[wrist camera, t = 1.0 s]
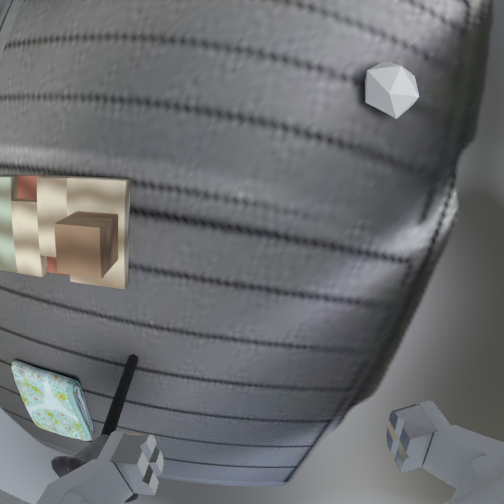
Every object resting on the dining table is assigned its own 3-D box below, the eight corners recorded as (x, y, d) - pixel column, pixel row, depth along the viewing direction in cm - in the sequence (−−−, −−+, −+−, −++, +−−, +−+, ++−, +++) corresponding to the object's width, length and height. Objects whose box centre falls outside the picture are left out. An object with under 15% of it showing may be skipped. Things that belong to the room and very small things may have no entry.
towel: (38, 415, 61) (31, 428, 56) (15, 355, 54) (5, 368, 49) (97, 432, 63) (92, 447, 58) (80, 373, 56) (72, 389, 51)
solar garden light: (97, 363, 55) (44, 484, 26) (115, 320, 52) (50, 454, 23) (151, 390, 57) (124, 518, 29) (175, 351, 55) (149, 496, 26)
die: (353, 115, 44) (407, 133, 38) (345, 65, 37) (404, 78, 31) (380, 96, 46) (430, 111, 40) (374, 50, 39) (428, 62, 33)
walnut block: (77, 211, 42) (54, 223, 35) (118, 214, 43) (99, 227, 36) (78, 254, 45) (57, 272, 38) (118, 259, 45) (101, 279, 38)
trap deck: (-18, 175, 40) (-36, 180, 35) (131, 178, 44) (119, 183, 39) (-11, 261, 46) (-27, 271, 41) (129, 282, 49) (119, 297, 44)
